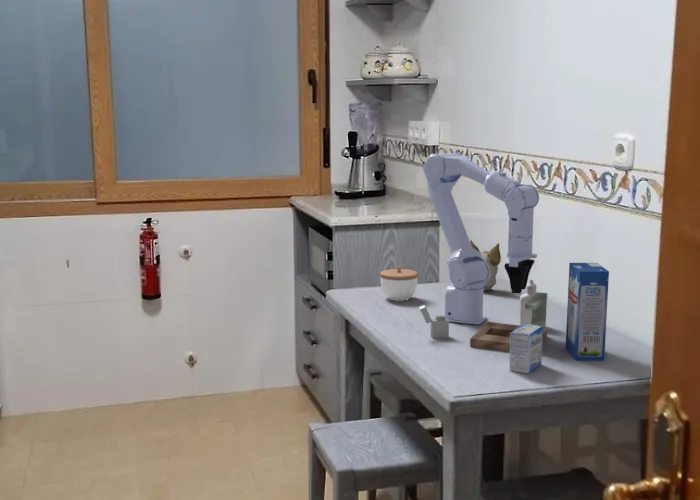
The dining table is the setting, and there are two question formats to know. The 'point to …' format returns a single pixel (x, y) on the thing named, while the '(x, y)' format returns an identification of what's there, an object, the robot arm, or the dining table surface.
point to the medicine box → (526, 348)
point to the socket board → (510, 327)
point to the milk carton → (587, 311)
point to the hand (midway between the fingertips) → (518, 290)
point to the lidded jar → (398, 283)
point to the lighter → (436, 324)
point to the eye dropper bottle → (526, 313)
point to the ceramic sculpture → (490, 263)
